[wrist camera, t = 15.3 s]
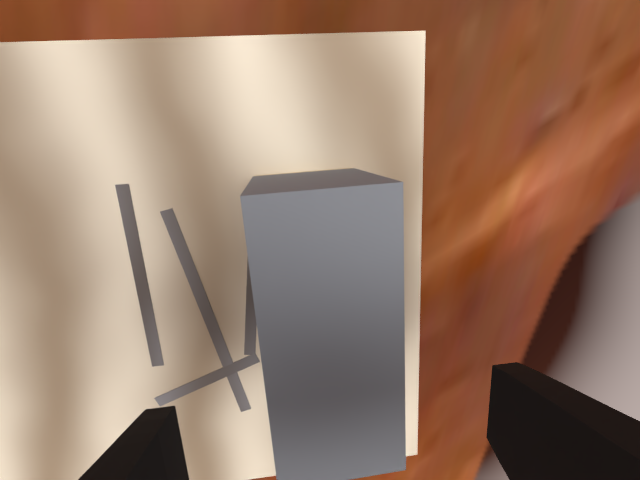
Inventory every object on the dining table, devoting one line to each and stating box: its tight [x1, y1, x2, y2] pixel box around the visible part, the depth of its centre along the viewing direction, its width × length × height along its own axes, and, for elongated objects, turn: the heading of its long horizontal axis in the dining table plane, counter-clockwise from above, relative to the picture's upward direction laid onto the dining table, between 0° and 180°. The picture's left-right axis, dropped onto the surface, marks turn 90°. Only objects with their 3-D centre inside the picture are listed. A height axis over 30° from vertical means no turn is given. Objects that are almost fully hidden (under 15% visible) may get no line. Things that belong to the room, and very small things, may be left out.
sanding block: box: [240, 168, 406, 480], centre depth 13 cm, size 4×9×6 cm, turn 4°
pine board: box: [0, 31, 425, 480], centre depth 16 cm, size 20×20×1 cm
